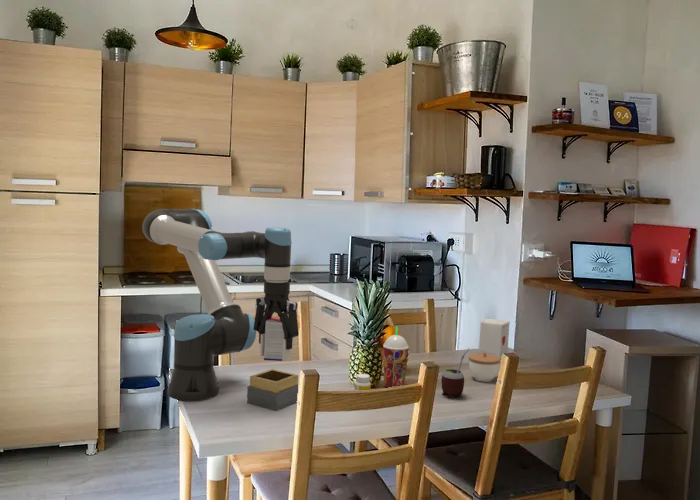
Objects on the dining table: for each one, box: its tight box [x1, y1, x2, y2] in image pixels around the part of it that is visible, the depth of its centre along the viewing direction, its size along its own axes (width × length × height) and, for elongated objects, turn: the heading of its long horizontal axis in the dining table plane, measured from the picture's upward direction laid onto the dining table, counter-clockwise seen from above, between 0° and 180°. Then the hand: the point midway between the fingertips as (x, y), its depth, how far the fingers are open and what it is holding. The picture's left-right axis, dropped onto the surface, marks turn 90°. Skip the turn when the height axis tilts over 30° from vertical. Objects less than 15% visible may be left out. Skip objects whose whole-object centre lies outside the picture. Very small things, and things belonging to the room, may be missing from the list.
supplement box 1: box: [263, 317, 285, 362], centre depth 185 cm, size 6×6×12 cm
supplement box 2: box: [478, 318, 510, 359], centre depth 246 cm, size 9×9×15 cm
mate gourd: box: [440, 347, 470, 400], centre depth 198 cm, size 8×8×15 cm
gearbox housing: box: [246, 368, 299, 412], centre depth 186 cm, size 11×11×8 cm
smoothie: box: [382, 326, 410, 388], centre depth 205 cm, size 8×8×20 cm
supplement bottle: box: [354, 373, 372, 391], centre depth 189 cm, size 5×5×8 cm
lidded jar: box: [468, 352, 501, 383], centre depth 218 cm, size 11×11×9 cm
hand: (275, 357), depth 185 cm, fingers closed on supplement box 1, 8 cm apart
